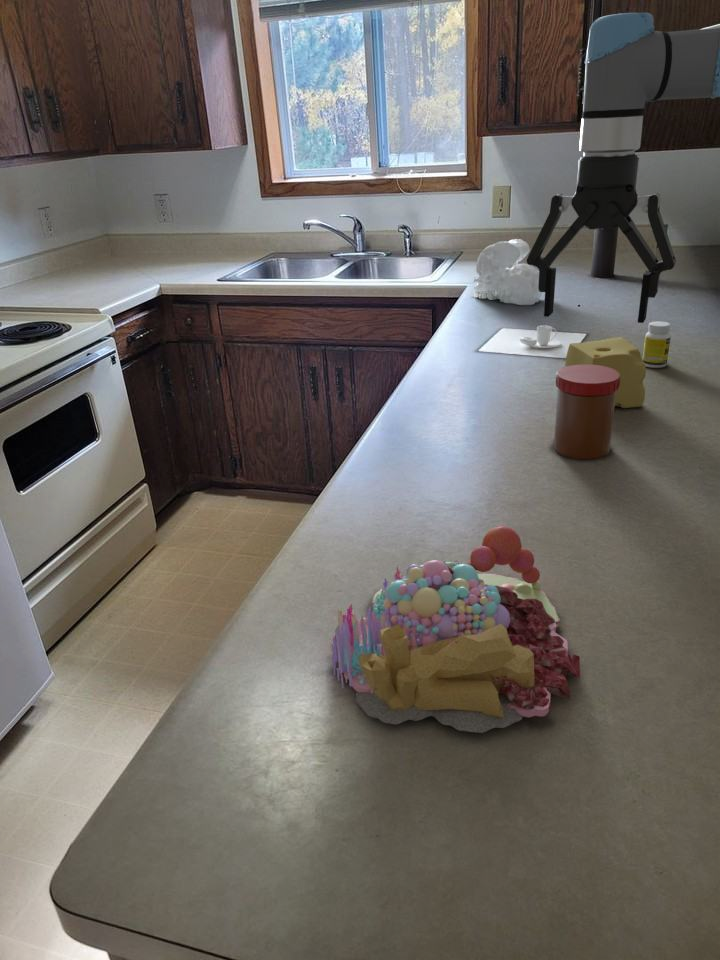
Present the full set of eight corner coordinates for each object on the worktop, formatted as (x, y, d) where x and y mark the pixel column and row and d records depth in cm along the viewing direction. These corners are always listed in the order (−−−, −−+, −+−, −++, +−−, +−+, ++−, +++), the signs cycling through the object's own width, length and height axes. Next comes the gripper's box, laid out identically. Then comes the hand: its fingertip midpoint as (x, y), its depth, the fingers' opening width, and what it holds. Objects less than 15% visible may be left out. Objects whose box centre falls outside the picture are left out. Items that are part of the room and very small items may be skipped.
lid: (615, 376, 113) (617, 364, 112) (622, 396, 105) (623, 384, 104) (554, 375, 115) (555, 363, 114) (556, 395, 107) (557, 383, 106)
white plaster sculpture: (554, 274, 189) (492, 230, 192) (509, 337, 200) (451, 294, 203) (568, 264, 205) (510, 224, 207) (526, 323, 216) (471, 284, 218)
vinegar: (587, 276, 228) (593, 208, 219) (595, 272, 233) (600, 205, 224) (609, 278, 225) (616, 208, 216) (616, 274, 230) (623, 206, 221)
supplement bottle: (667, 369, 146) (672, 327, 143) (641, 367, 148) (646, 326, 144) (666, 361, 150) (672, 321, 147) (641, 360, 152) (646, 320, 148)
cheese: (644, 407, 129) (651, 351, 124) (585, 413, 127) (590, 357, 123) (615, 388, 138) (621, 335, 133) (561, 394, 137) (565, 341, 132)
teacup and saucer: (517, 348, 164) (518, 330, 162) (526, 338, 170) (527, 321, 168) (557, 351, 160) (558, 332, 158) (564, 341, 167) (566, 323, 165)
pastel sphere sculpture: (613, 728, 63) (625, 642, 59) (339, 755, 62) (332, 669, 58) (529, 568, 85) (534, 498, 81) (327, 586, 84) (321, 516, 80)
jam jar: (607, 438, 118) (614, 368, 112) (612, 460, 110) (620, 386, 105) (552, 436, 119) (557, 367, 114) (554, 458, 112) (559, 385, 107)
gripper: (713, 149, 94) (688, 316, 103) (523, 154, 104) (517, 306, 114) (709, 153, 88) (683, 330, 97) (508, 158, 98) (502, 318, 108)
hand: (593, 317), depth 106 cm, fingers open, 12 cm apart
